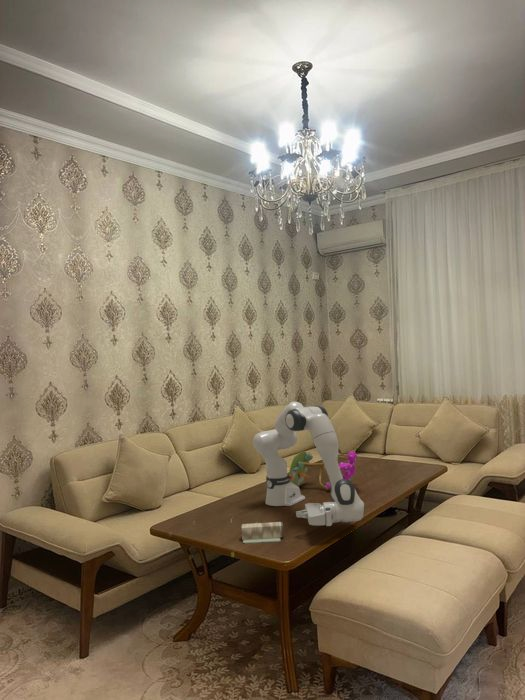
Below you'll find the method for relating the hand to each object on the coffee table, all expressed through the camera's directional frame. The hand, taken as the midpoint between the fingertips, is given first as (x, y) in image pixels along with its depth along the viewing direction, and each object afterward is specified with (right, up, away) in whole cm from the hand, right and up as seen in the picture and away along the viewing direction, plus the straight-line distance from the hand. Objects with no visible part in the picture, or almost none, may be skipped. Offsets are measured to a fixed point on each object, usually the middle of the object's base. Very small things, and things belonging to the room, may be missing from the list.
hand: (296, 514), depth 230 cm
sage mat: (-15, -10, 0) cm, 18 cm away
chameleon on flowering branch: (+21, -8, +68) cm, 72 cm away
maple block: (-6, -7, 0) cm, 9 cm away
